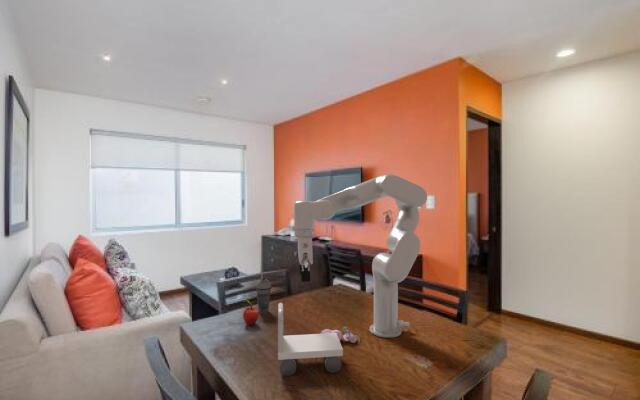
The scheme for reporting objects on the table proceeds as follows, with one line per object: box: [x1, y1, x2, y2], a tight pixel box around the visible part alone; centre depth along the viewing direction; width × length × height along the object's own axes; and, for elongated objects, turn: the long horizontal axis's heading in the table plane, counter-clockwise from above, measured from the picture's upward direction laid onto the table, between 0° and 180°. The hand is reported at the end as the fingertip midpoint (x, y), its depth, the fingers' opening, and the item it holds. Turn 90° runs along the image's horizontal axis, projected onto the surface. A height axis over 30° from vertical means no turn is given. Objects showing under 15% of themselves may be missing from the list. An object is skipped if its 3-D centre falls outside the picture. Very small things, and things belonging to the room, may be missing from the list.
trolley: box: [277, 302, 344, 377], centre depth 103 cm, size 20×13×18 cm, turn 97°
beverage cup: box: [255, 269, 272, 314], centre depth 149 cm, size 7×7×20 cm
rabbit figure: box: [319, 326, 361, 344], centre depth 119 cm, size 6×6×15 cm
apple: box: [242, 299, 260, 326], centre depth 135 cm, size 8×7×10 cm
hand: (304, 277), depth 121 cm, fingers open, 9 cm apart
